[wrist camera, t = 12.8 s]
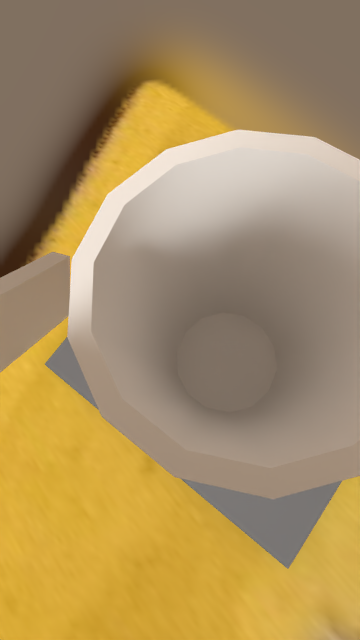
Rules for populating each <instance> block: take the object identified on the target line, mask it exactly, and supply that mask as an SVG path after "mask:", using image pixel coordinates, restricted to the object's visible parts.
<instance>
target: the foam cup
mask: <svg viewBox="0 0 360 640" xmlns="http://www.w3.org/2000/svg"><path fill="white" fill-rule="evenodd" d="M68 340H69V342H70V345H71V347H72V349H73V352H74V354H75V356H76V358H77V361H78V363H79V365H80V368H81V370H82V372H83V375H84V377H85V379H86V381H87V384H88V386H89V388H90V391H91V393H92V395H93V398H94V400H95V402H96V404H97V407H98V409H99V411H100V414H101V416H102V417H103V418H104V419H105V420H106V421H108V422H109V423H110V424H111V425H113V426H114V427H115V428H116V429H117V430H119V431H120V432H121V433H122V434H123V435H125V436H126V437H127V438H128V439H129V440H131V441H132V442H133V443H134V444H135V445H137V446H138V447H139V448H140V449H142V450H143V451H144V452H145V453H146V454H148V455H149V456H150V457H151V458H152V459H154V460H155V461H156V462H157V463H158V464H160V465H161V466H162V467H163V468H164V469H166V470H167V471H168V472H169V473H170V474H172V475H173V476H174V477H177V478H181V479H186V480H190V481H194V482H199V483H203V484H208V485H212V486H217V487H221V488H226V489H230V490H234V491H239V492H243V493H248V494H252V495H257V496H261V497H266V498H270V499H276V498H280V497H283V496H287V495H291V494H294V493H298V492H302V491H305V490H309V489H313V488H316V487H320V486H324V485H327V484H331V483H335V482H338V481H342V480H346V479H349V478H353V477H357V476H360V160H359V159H357V158H355V157H353V156H351V155H349V154H347V153H345V152H343V151H341V150H339V149H337V148H335V147H333V146H331V145H330V144H327V143H325V142H324V141H322V140H319V139H318V138H316V137H309V136H299V135H289V134H278V133H268V132H257V131H247V130H235V131H231V132H228V133H224V134H220V135H217V136H213V137H209V138H206V139H202V140H199V141H195V142H191V143H188V144H184V145H181V146H177V147H173V148H170V149H166V150H165V151H163V152H162V153H161V154H160V155H158V156H157V157H156V158H154V159H153V160H152V161H150V162H149V163H148V164H146V165H145V166H144V167H143V168H141V169H140V170H139V171H137V172H136V173H135V174H133V175H132V176H131V177H130V178H128V179H127V180H126V181H124V182H123V183H122V184H120V185H119V186H118V187H116V188H115V189H114V190H113V191H111V192H110V193H109V194H108V195H107V196H106V198H105V200H104V202H103V204H102V205H101V207H100V209H99V211H98V213H97V215H96V216H95V218H94V220H93V222H92V224H91V225H90V227H89V229H88V231H87V233H86V235H85V236H84V238H83V240H82V242H81V244H80V245H79V247H78V249H77V251H76V253H75V255H74V256H73V258H72V266H71V284H70V302H69V320H68Z"/></svg>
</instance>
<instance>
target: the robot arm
mask: <svg viewBox="0 0 360 640" xmlns="http://www.w3.org/2000/svg"><path fill="white" fill-rule="evenodd" d="M69 302H70V256H66V255H63V254H59V253H55V252H51V253H49V254H47V255H45V256H43V257H41V258H39V259H37V260H35V261H33V262H31V263H29V264H27V265H25V266H23V267H21V268H19V269H17V270H16V271H13V272H11V273H9V274H7V275H5V276H3V277H1V278H0V372H1V371H3V370H4V369H5V368H6V367H7V366H9V365H10V364H11V363H12V362H13V361H15V360H16V359H17V358H18V357H19V356H21V355H22V354H23V353H24V352H26V351H27V350H28V349H29V348H30V347H32V346H33V345H34V344H35V343H36V342H38V341H39V340H40V339H41V338H42V337H44V336H45V335H46V334H47V333H48V332H50V331H51V330H52V329H53V328H55V327H56V326H57V325H58V324H59V323H61V322H62V321H63V320H64V319H65V318H67V317H68V316H69Z"/></svg>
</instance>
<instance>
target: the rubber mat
mask: <svg viewBox="0 0 360 640" xmlns="http://www.w3.org/2000/svg"><path fill="white" fill-rule="evenodd" d="M45 365H46V366H47V367H48V368H50V369H51V370H52V371H53V372H54V373H55V374H57V375H58V376H59V377H60V378H61V379H63V380H64V381H65V382H66V383H67V384H69V385H70V386H71V387H72V388H73V389H75V390H76V391H77V392H78V393H79V394H80V395H82V396H83V397H84V398H85V399H86V400H88V401H89V402H90V403H91V404H92V405H94V406H95V407H96V408H97V409H98V407H97V404H96V402H95V400H94V398H93V395H92V393H91V391H90V388H89V386H88V384H87V381H86V379H85V377H84V375H83V372H82V370H81V368H80V365H79V363H78V361H77V358H76V356H75V354H74V352H73V349H72V347H71V345H70V342H69V340H68V337H67V338H66V339H65V340H64V342H63V343H62V344H61V345H60V346H59V348H58V349H57V350H56V351H55V352H54V354H53V355H52V356H51V357H50V358H49V360H48V361H47V362H46V363H45ZM98 410H99V409H98ZM180 479H181V478H180ZM182 480H183V481H184V482H185V483H186V484H188V485H189V486H190V487H191V488H192V489H193V490H195V491H196V492H197V493H198V494H199V495H201V496H202V497H203V498H204V499H205V500H207V501H208V502H209V503H210V504H211V505H213V506H214V507H215V508H216V509H217V510H218V511H220V512H221V513H222V514H223V515H224V516H226V517H227V518H228V519H229V520H230V521H232V522H233V523H234V524H235V525H236V526H238V527H239V528H240V529H241V530H242V531H243V532H245V533H246V534H247V535H248V536H249V537H251V538H252V539H253V540H254V541H255V542H257V543H258V544H259V545H260V546H261V547H262V548H264V549H265V550H266V551H267V552H268V553H270V554H271V555H272V556H273V557H274V558H276V559H277V560H278V561H279V562H280V563H282V564H283V565H284V566H285V567H286V568H287V569H288V568H289V567H290V565H291V564H292V562H293V560H294V559H295V557H296V555H297V554H298V552H299V550H300V549H301V547H302V546H303V544H304V542H305V541H306V539H307V537H308V536H309V534H310V532H311V531H312V529H313V528H314V526H315V524H316V523H317V521H318V519H319V518H320V516H321V514H322V513H323V511H324V510H325V508H326V506H327V505H328V503H329V501H330V500H331V498H332V496H333V495H334V493H335V492H336V490H337V488H338V487H339V485H340V483H341V482H342V481H338V482H335V483H331V484H327V485H324V486H320V487H316V488H313V489H309V490H305V491H302V492H298V493H294V494H291V495H287V496H283V497H280V498H276V499H270V498H266V497H261V496H257V495H252V494H248V493H243V492H239V491H234V490H230V489H226V488H221V487H217V486H212V485H208V484H203V483H199V482H194V481H190V480H186V479H182Z"/></svg>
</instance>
